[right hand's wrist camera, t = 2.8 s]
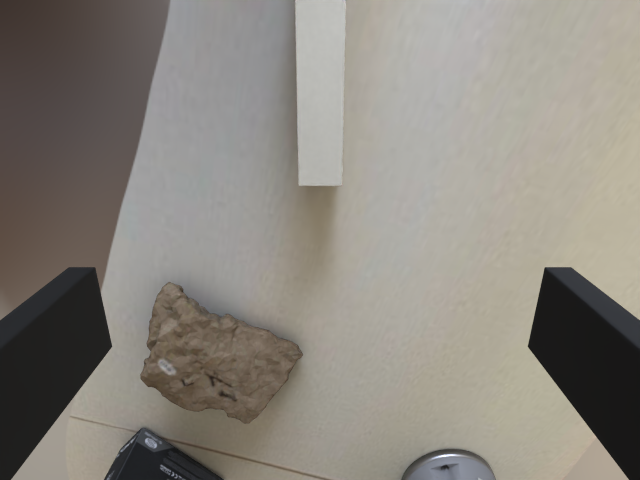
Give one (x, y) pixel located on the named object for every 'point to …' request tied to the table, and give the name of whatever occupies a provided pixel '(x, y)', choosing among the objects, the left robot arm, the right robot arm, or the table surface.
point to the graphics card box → (155, 461)
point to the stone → (213, 358)
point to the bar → (320, 90)
